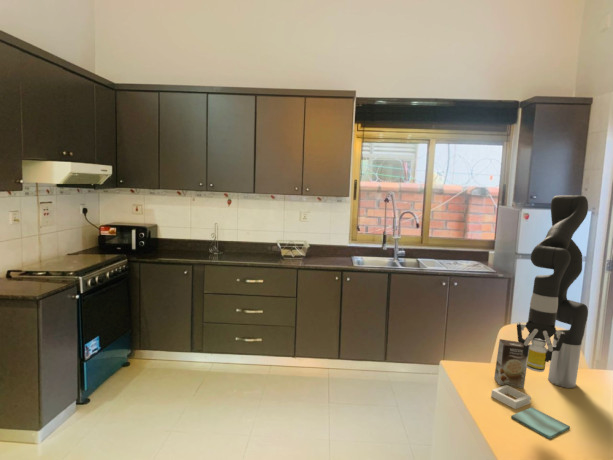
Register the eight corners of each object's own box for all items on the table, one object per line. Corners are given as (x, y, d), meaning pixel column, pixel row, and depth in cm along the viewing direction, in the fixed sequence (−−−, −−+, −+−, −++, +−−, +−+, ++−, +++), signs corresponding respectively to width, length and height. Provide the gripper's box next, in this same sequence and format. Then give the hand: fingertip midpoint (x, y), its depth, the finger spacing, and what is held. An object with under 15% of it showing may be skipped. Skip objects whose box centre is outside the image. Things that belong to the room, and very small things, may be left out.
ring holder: (505, 391, 146) (506, 384, 145) (530, 403, 138) (530, 396, 138) (491, 396, 141) (491, 389, 141) (515, 409, 133) (516, 402, 133)
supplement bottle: (547, 373, 125) (551, 344, 124) (528, 370, 126) (532, 341, 125) (541, 366, 130) (544, 338, 129) (523, 363, 131) (526, 335, 130)
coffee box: (498, 385, 150) (503, 344, 148) (493, 377, 156) (498, 338, 155) (524, 388, 149) (529, 348, 147) (518, 380, 155) (523, 341, 153)
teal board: (531, 409, 134) (531, 407, 134) (569, 428, 124) (569, 426, 124) (511, 417, 128) (511, 415, 128) (549, 438, 118) (549, 436, 118)
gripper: (517, 305, 126) (511, 356, 128) (570, 315, 119) (563, 369, 121) (518, 301, 133) (512, 349, 134) (569, 310, 126) (561, 361, 127)
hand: (536, 358), depth 128 cm, fingers closed on supplement bottle, 5 cm apart
